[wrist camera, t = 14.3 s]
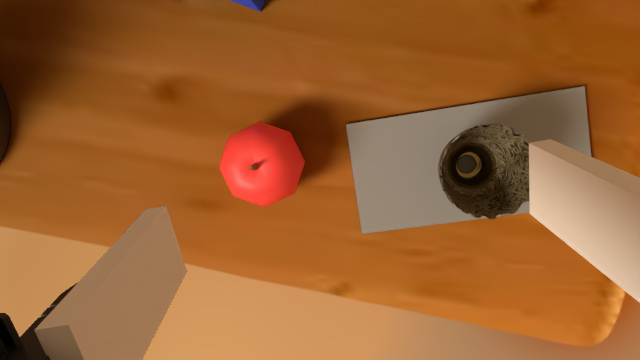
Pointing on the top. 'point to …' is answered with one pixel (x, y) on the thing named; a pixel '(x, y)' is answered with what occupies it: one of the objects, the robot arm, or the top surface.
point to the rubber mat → (427, 145)
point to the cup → (487, 171)
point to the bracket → (251, 3)
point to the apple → (262, 164)
